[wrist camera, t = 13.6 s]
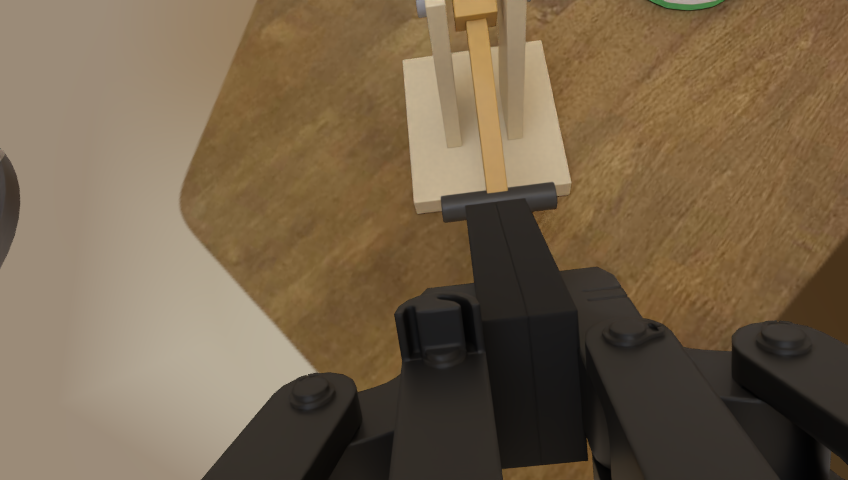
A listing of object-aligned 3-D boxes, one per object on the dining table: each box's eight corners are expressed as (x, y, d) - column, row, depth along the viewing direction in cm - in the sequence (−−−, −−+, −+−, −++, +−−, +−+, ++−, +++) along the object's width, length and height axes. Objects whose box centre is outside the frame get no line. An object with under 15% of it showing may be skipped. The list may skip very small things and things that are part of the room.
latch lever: (553, 209, 35) (559, 207, 33) (444, 222, 36) (443, 222, 33) (524, -30, 35) (528, -49, 33) (415, -14, 36) (411, -31, 33)
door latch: (569, 195, 42) (594, 43, 29) (417, 214, 42) (378, 74, 30) (540, 54, 47) (550, -124, 35) (405, 73, 48) (369, -95, 36)
